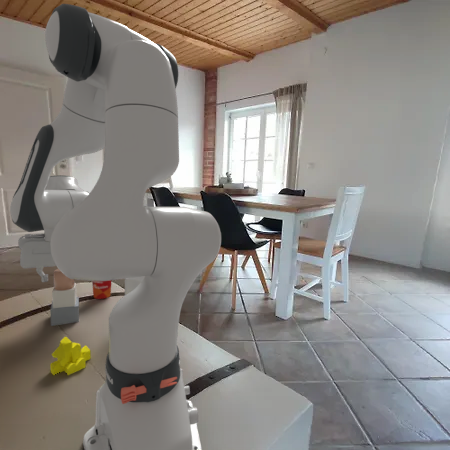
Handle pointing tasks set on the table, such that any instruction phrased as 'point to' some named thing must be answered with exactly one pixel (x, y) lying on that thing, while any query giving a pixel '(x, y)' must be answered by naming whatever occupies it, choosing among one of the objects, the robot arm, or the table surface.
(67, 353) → the yellow crystal cluster
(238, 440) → the table surface
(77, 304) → the tower base block
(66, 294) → the tower top block
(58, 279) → the peach rounded cylinder
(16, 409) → the table surface
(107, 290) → the paper cup
